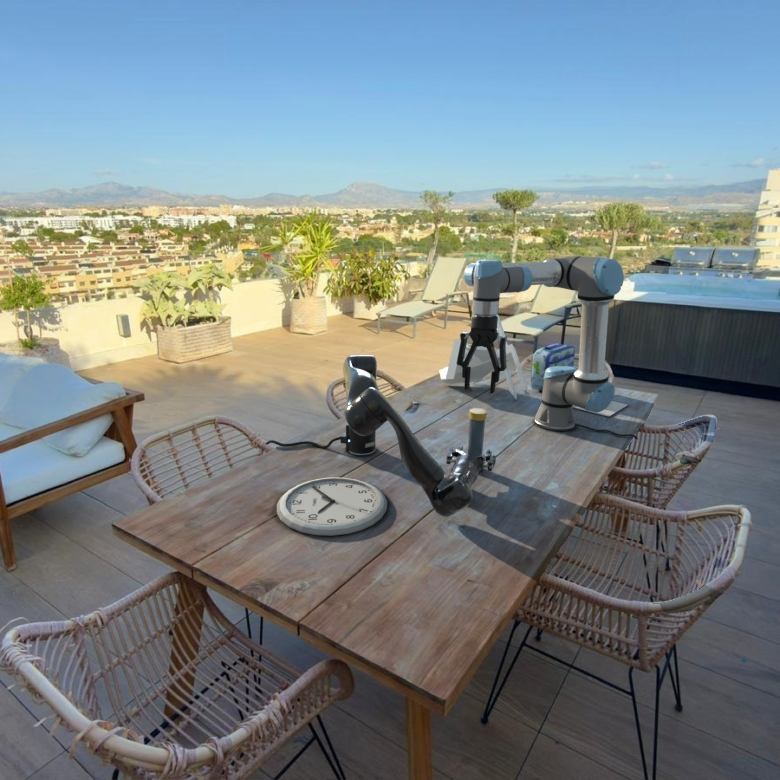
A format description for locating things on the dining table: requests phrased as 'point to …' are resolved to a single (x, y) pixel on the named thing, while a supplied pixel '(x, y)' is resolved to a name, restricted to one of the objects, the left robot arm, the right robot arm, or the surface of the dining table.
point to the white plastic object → (482, 365)
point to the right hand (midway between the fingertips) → (479, 390)
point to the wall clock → (331, 506)
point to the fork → (413, 403)
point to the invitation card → (608, 408)
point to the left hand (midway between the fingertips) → (475, 450)
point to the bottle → (476, 437)
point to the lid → (477, 414)
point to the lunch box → (550, 361)
